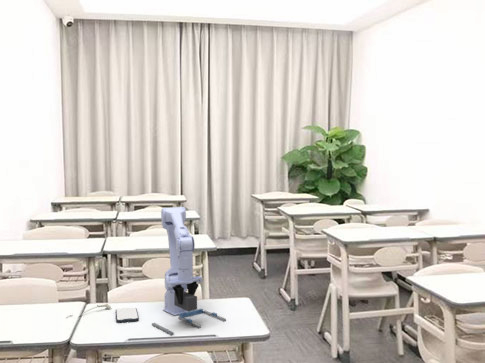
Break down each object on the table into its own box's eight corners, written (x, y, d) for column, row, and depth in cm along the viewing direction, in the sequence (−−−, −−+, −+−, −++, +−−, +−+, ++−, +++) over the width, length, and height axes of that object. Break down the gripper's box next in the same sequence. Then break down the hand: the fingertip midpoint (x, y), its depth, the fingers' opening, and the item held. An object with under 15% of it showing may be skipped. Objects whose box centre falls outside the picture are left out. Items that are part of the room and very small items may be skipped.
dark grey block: (174, 305, 195) (174, 292, 195) (183, 303, 198) (183, 290, 197) (188, 311, 187) (188, 298, 187) (197, 309, 190) (197, 296, 190)
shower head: (67, 327, 199) (115, 313, 211) (67, 320, 198) (115, 306, 209) (63, 320, 203) (110, 306, 215) (63, 313, 202) (110, 299, 213)
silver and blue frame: (150, 324, 192) (150, 320, 192) (203, 311, 208) (203, 308, 208) (171, 335, 181) (171, 331, 180) (226, 320, 197) (226, 317, 196)
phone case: (115, 312, 209) (116, 324, 193) (115, 308, 209) (116, 320, 193) (136, 311, 211) (139, 322, 196) (136, 307, 211) (139, 318, 196)
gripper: (174, 272, 184) (174, 308, 185) (206, 267, 193) (206, 301, 194) (164, 269, 190) (165, 304, 190) (196, 264, 199) (196, 297, 199)
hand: (185, 302), depth 192 cm, fingers closed on dark grey block, 4 cm apart
